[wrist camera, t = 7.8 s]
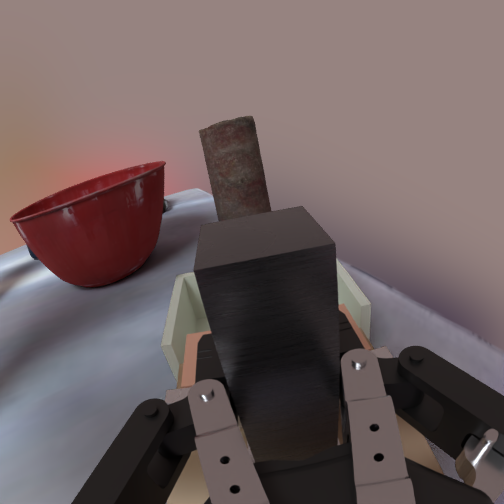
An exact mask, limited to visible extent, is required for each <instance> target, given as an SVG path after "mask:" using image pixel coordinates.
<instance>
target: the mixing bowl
mask: <svg viewBox="0 0 504 504" xmlns="http://www.w3.org/2000/svg"><path fill="white" fill-rule="evenodd" d="M165 164H166V163H165V162H164V161H160V162H153V163H147V164H143V165H139V166H134V167H130V168H127V169H123V170H119V171H116V172H112V173H109V174H106V175H103V176H99V177H97V178H94V179H91V180H88V181H85V182H83V183H80V184H77V185H74V186H72V187H69V188H67V189H64V190H62V191H59V192H57V193H55V194H53V195H50V196H48V197H46V198H44V199H41V200H39V201H37V202H35V203H33V204H31V205H29V206H28V207H26V208H24V209H22V210H21V211H19V212H18V213H16V214H14V215H13V216H12V217H11V218H10V222H13V224H14V226H15V227H16V229H17V231H18V232H19V234H20V236H21V237H22V238H23V240H24V241H25V243H26V244H27V245H28V247H29V248H30V249H31V251H32V252H33V253H34V254H35V255H36V257H37V258H38V259H39V260H40V261H41V262H42V263H43V264H44V265H45V266H46V267H47V268H48V269H49V270H50V271H52V272H53V273H54V274H55V275H56V276H57V277H59V278H60V279H62V280H63V281H65V282H68V283H70V284H73V285H79V286H83V287H99V286H103V285H107V284H110V283H113V282H116V281H118V280H120V279H122V278H124V277H126V276H128V275H130V274H132V273H133V272H135V271H136V270H137V269H139V268H140V267H141V266H142V265H143V264H144V262H145V261H146V259H147V258H148V257H149V256H150V254H151V253H152V251H153V250H154V248H155V245H156V243H157V240H158V236H159V231H160V225H161V220H162V212H163V202H164V165H165Z"/></svg>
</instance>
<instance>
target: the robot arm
mask: <svg viewBox="0 0 504 504" xmlns="http://www.w3.org/2000/svg"><path fill="white" fill-rule="evenodd" d="M339 346H340V381H339V399H340V413H341V425H342V438H343V444H341V445H337V446H333V447H330V448H328V449H326V450H324V451H322V452H320V453H318V454H316V455H314V456H312V457H310V458H307V459H305V460H300V461H288V460H269V461H263V462H256V463H253V462H252V460H251V457H250V455H249V452H248V450H247V447H246V444H245V442H244V439H243V437H242V434H241V432H240V429H239V426H238V413H237V410H236V407H235V404H234V401H233V399H232V396H231V393H230V390H229V387H228V384H227V380H226V377H225V374H224V371H223V368H222V365H221V362H220V359H219V356H218V352H217V349H216V346H215V343H214V339H213V336H212V333H210V334H204V335H202V337H201V338H200V340H199V342H198V345H197V360H196V375H195V384H194V385H193V386H192V387H191V388H190V390H189V392H188V396H187V397H185V398H184V399H182V400H180V401H177V402H174V403H171V404H169V405H168V404H167V403H166V402H165V401H163V400H161V399H149V400H146V401H144V402H142V403H141V404H140V405H138V407H137V408H136V409H135V411H134V412H133V414H132V415H131V417H130V418H129V419H128V421H127V422H126V424H125V425H124V427H123V428H122V430H121V431H120V433H119V434H118V436H117V437H116V438H115V440H114V441H113V443H112V444H111V446H110V447H109V449H108V450H107V452H106V453H105V455H104V456H103V458H102V459H101V461H100V462H99V463H98V465H97V466H96V468H95V469H94V471H93V472H92V474H91V475H90V477H89V478H88V480H87V481H86V483H85V484H84V486H83V487H82V489H81V490H80V492H79V493H78V495H77V496H76V497H75V499H74V500H73V502H72V503H71V504H165V503H166V502H167V500H168V498H169V496H170V494H171V492H172V490H173V488H174V486H175V484H176V482H177V480H178V478H179V477H180V475H181V473H182V471H183V469H184V467H185V465H186V463H187V461H188V459H189V457H190V455H191V452H192V451H195V450H197V451H198V455H199V459H200V463H201V467H202V471H203V474H204V478H205V482H206V485H207V489H208V492H209V498H208V499H207V500H206V501H205V503H204V504H494V502H495V501H496V499H497V498H498V497H499V496H500V494H501V493H502V492H503V490H504V396H503V395H501V394H500V393H498V392H497V391H495V390H493V389H492V388H490V387H488V386H487V385H485V384H484V383H482V382H480V381H479V380H477V379H476V378H474V377H472V376H471V375H469V374H467V373H466V372H464V371H463V370H461V369H459V368H458V367H456V366H454V365H453V364H451V363H449V362H448V361H446V360H445V359H443V358H441V357H440V356H438V355H436V354H435V353H433V352H432V351H430V350H428V349H426V348H424V347H421V346H410V347H407V348H405V349H404V350H402V351H401V353H400V355H399V358H379V357H377V356H376V355H375V354H374V353H373V352H371V351H369V350H367V349H365V348H364V346H363V344H362V343H361V341H360V339H359V337H358V336H357V334H356V332H355V330H354V329H353V328H352V325H351V324H350V322H349V320H348V318H347V317H346V315H345V314H344V313H343V312H341V311H340V310H339ZM395 413H396V414H397V415H398V416H399V417H401V418H402V419H403V420H405V421H406V422H407V423H408V424H410V425H411V426H412V427H413V428H415V429H416V430H417V431H418V432H420V433H421V434H422V435H424V436H425V437H426V438H427V439H429V440H430V441H431V442H433V443H434V444H435V445H437V446H438V447H439V448H440V449H442V450H443V451H444V452H446V453H447V454H448V455H450V456H451V457H452V458H453V459H455V460H456V462H455V468H456V471H457V473H458V475H459V477H460V478H461V479H463V481H464V483H462V482H460V481H457V480H455V479H453V478H450V477H448V476H446V475H443V474H441V473H439V472H436V471H434V470H432V469H430V468H428V467H425V466H423V465H421V464H419V463H417V462H415V461H413V460H410V459H408V458H406V457H404V452H403V447H402V442H401V437H400V432H399V428H398V423H397V419H396V414H395Z"/></svg>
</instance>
